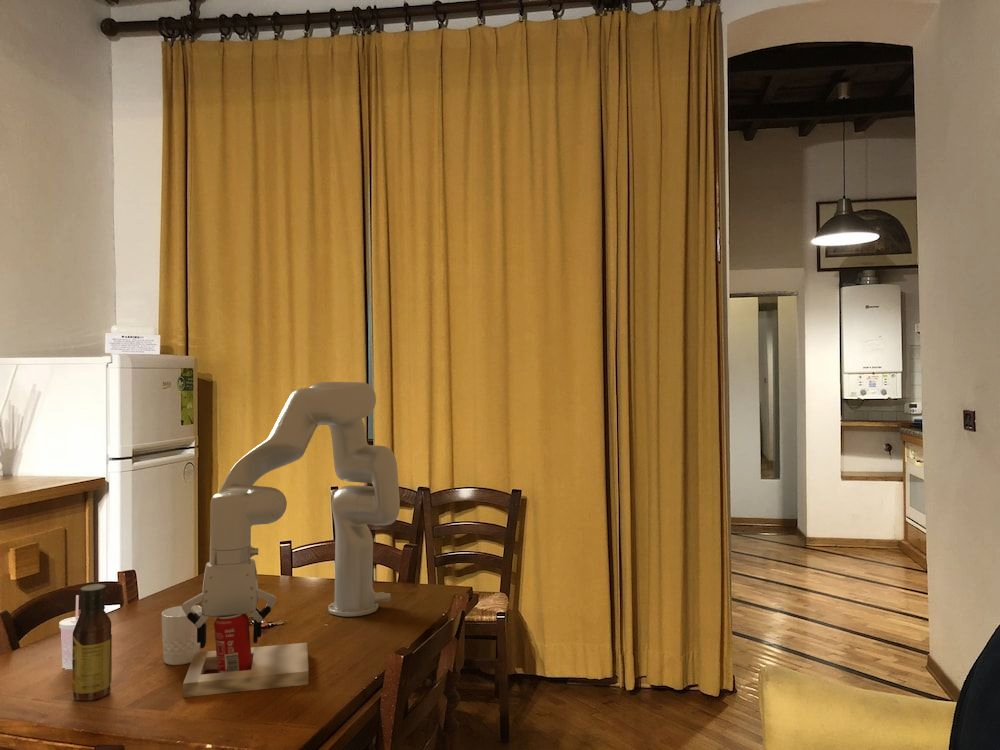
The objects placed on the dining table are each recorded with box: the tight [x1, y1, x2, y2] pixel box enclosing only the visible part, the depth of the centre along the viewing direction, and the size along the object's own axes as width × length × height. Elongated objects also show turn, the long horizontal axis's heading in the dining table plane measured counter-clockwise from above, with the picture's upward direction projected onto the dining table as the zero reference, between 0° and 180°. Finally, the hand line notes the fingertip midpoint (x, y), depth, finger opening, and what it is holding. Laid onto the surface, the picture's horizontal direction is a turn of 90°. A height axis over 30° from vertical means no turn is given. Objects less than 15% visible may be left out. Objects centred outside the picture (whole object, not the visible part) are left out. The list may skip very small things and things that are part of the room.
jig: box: [182, 642, 309, 698], centre depth 139 cm, size 22×16×2 cm
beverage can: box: [213, 614, 252, 673], centre depth 138 cm, size 6×6×12 cm
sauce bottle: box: [71, 583, 113, 702], centre depth 129 cm, size 6×6×20 cm
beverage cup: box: [58, 594, 80, 670], centre depth 143 cm, size 6×6×14 cm
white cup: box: [161, 604, 202, 666], centre depth 147 cm, size 8×8×10 cm
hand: (229, 643), depth 138 cm, fingers open, 9 cm apart
